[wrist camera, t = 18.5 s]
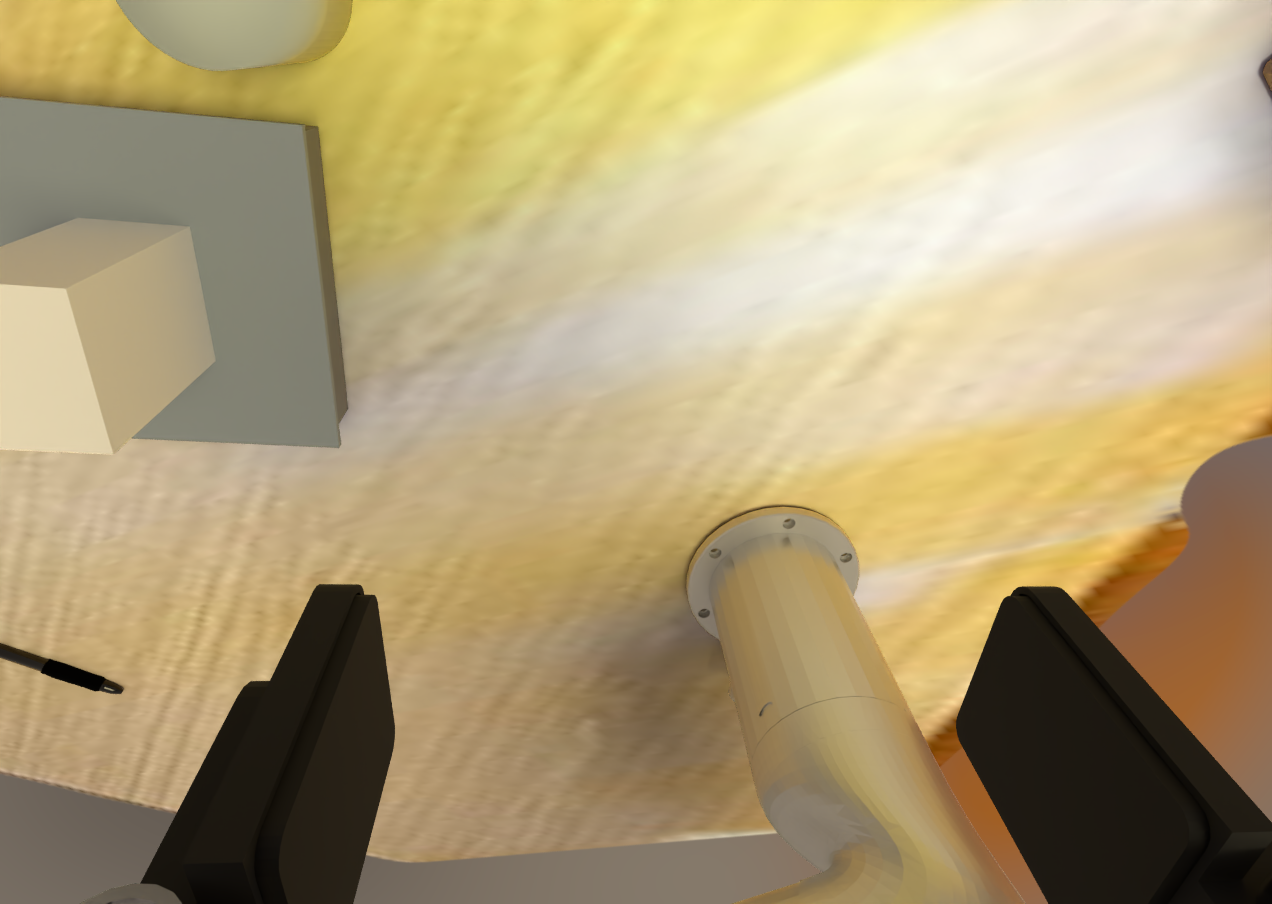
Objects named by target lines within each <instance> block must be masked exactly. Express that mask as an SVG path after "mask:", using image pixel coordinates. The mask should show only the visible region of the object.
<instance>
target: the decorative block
mask: <svg viewBox="0 0 1272 904" xmlns="http://www.w3.org/2000/svg"><path fill="white" fill-rule="evenodd" d="M1263 75H1264V77H1265V79H1266V81H1267V83H1268V85H1269V87H1270V89H1271V91H1272V59H1270V60H1269V61H1268V62H1267V63H1266V65H1265V67H1264V70H1263Z"/></svg>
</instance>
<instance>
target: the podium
mask: <svg viewBox="0 0 1272 904" xmlns="http://www.w3.org/2000/svg"><path fill="white" fill-rule="evenodd" d="M76 218H88V219H101V220H114V221H126V222H139V223H152V224H165V225H177V226H190V231H191V236H192V241H193V246H194V251H195V257H196V262H197V267H198V272H199V277H200V282H201V288H202V293H203V298H204V303H205V308H206V313H207V318H208V324H209V329H210V334H211V339H212V344H213V349H214V355H215V360H216V361H215V362H214V363H213V364H212V365H211V366H210V367H209V368H207V369H206V370H205V371H204V372H203V373H202V374H201V375H200V376H199V377H198V378H197V379H195V380H194V381H193V382H192V383H191V384H190V385H189V386H188V387H187V388H186V389H185V390H183V391H182V392H181V393H180V394H179V395H178V396H177V397H176V398H175V399H174V400H172V401H171V402H170V403H169V404H168V405H167V406H166V407H165V408H164V409H163V410H162V411H160V412H159V413H158V414H157V415H156V416H155V417H154V418H153V419H152V420H151V421H150V422H148V423H147V424H146V425H145V426H144V427H143V428H142V429H141V430H140V431H139V432H138V433H136V434H135V435H134V436H133V437H132V438H134V439H155V440H177V441H199V442H221V443H242V444H264V445H286V446H308V447H329V448H339V447H340V446H341V439H340V431H339V423H340V421H341V419H342V418H343V416H344V414H345V413H346V411H347V409H348V405H347V396H346V386H345V377H344V367H343V358H342V348H341V339H340V330H339V320H338V311H337V301H336V292H335V282H334V273H333V263H332V254H331V244H330V235H329V226H328V216H327V207H326V197H325V188H324V178H323V169H322V159H321V150H320V140H319V131H318V127H317V126H306V125H305V124H294V123H283V122H273V121H262V120H251V119H240V118H230V117H219V116H208V115H197V114H187V113H176V112H165V111H154V110H144V109H133V108H122V107H111V106H101V105H90V104H79V103H68V102H58V101H47V100H36V99H25V98H15V97H4V96H0V247H1V246H3V245H6V244H9V243H11V242H14V241H17V240H19V239H22V238H25V237H28V236H30V235H33V234H36V233H38V232H41V231H44V230H46V229H49V228H52V227H54V226H57V225H60V224H63V223H65V222H68V221H71V220H73V219H76Z"/></svg>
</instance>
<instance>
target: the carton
mask: <svg viewBox="0 0 1272 904" xmlns="http://www.w3.org/2000/svg"><path fill="white" fill-rule="evenodd" d="M215 361H216V360H215V355H214V349H213V344H212V339H211V334H210V329H209V324H208V318H207V313H206V308H205V303H204V298H203V293H202V288H201V282H200V277H199V272H198V267H197V262H196V257H195V251H194V246H193V241H192V236H191V231H190V226H177V225H165V224H152V223H139V222H126V221H114V220H101V219H88V218H76V219H73V220H71V221H68V222H65V223H63V224H60V225H57V226H54V227H52V228H49V229H46V230H44V231H41V232H38V233H36V234H33V235H30V236H28V237H25V238H22V239H19V240H17V241H14V242H11V243H9V244H6V245H3V246H1V247H0V450H22V451H44V452H66V453H88V454H110V455H114V454H115V453H116V452H117V451H118V450H119V449H120V448H121V447H122V446H123V445H124V444H126V443H127V442H128V441H129V440H130V439H131V438H132V437H133V436H134V435H135V434H136V433H138V432H139V431H140V430H141V429H142V428H143V427H144V426H145V425H146V424H147V423H148V422H150V421H151V420H152V419H153V418H154V417H155V416H156V415H157V414H158V413H159V412H160V411H162V410H163V409H164V408H165V407H166V406H167V405H168V404H169V403H170V402H171V401H172V400H174V399H175V398H176V397H177V396H178V395H179V394H180V393H181V392H182V391H183V390H185V389H186V388H187V387H188V386H189V385H190V384H191V383H192V382H193V381H194V380H195V379H197V378H198V377H199V376H200V375H201V374H202V373H203V372H204V371H205V370H206V369H207V368H209V367H210V366H211V365H212V364H213V363H214V362H215Z"/></svg>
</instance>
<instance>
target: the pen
mask: <svg viewBox="0 0 1272 904" xmlns="http://www.w3.org/2000/svg"><path fill="white" fill-rule="evenodd" d="M0 658H2V659H5V660H8V661H11V662H14V663H17V664H20V665H23V666H26V667H29V668H32V669H35V670H37V671H40V672H41V673H42V674H46V675H48V676H50V677H53V678H55V679H58V680H62V681H65V682H68V683H71V684H75V685H78V686H81V687H84V688H87V689H90V690H92V691H102V692H106V693H110V694H121V693H122V692H123V689H122V688H121V687H119V686H118V685H117V684H115V683H112V682H110V681H108V680H106V679H105V678H104V677H101V676H98V675H95V674H92V673H89V672H86V671H84V670H81V669H78V668H75V667H73V666H70V665H67V664H64V663H61V662H57V661H53V660H51V659H49V660H48V659H45V658H42V657H39V656H36V655H33V654H30V653H28V652H25V651H22V650H19V649H16V648H13V647H10V646H7V645H4V644H1V643H0Z"/></svg>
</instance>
